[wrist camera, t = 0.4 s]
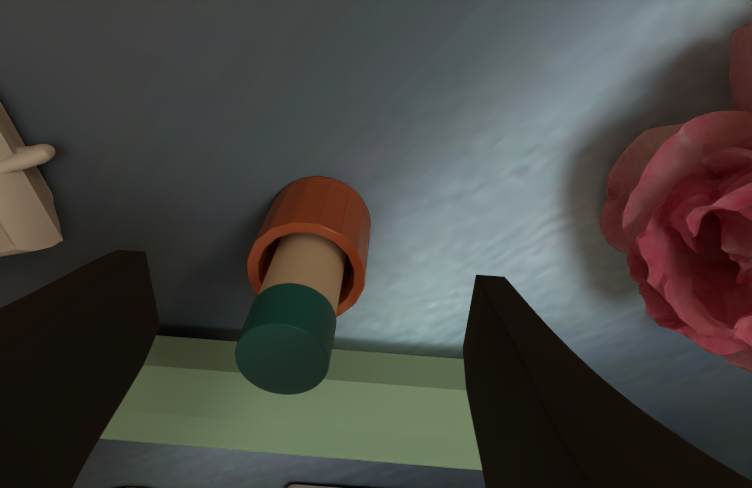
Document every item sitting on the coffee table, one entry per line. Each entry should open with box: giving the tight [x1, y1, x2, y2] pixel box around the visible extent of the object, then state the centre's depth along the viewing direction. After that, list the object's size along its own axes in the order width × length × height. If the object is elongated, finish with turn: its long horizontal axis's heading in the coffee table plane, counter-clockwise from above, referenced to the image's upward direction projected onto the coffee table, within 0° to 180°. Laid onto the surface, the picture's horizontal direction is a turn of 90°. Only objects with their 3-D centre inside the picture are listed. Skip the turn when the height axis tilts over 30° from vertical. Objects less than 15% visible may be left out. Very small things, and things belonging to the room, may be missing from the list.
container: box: [99, 335, 482, 470], centre depth 24 cm, size 6×6×25 cm
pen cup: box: [247, 177, 370, 317], centre depth 20 cm, size 4×4×4 cm
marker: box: [235, 232, 347, 395], centre depth 18 cm, size 3×3×8 cm
